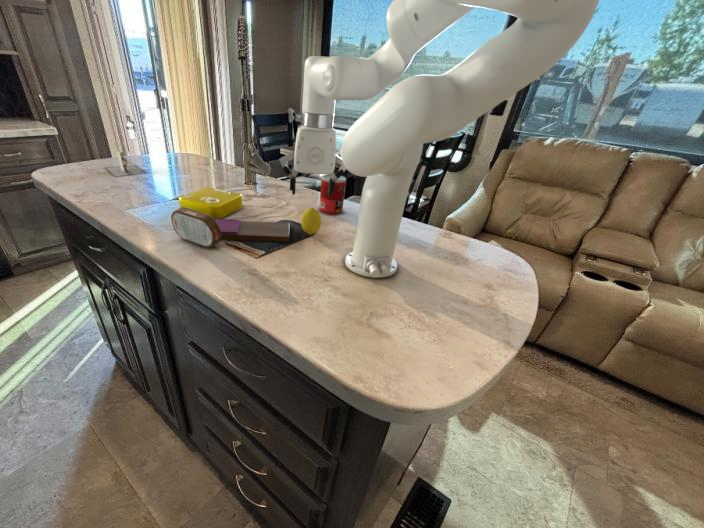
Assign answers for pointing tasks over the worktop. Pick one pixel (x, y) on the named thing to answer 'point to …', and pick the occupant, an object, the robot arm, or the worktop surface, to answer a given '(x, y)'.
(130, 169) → the architectural model
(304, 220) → the lemon
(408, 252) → the worktop surface
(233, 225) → the plum cloth
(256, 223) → the serving board
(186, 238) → the tin
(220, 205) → the element tile
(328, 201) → the canned food
